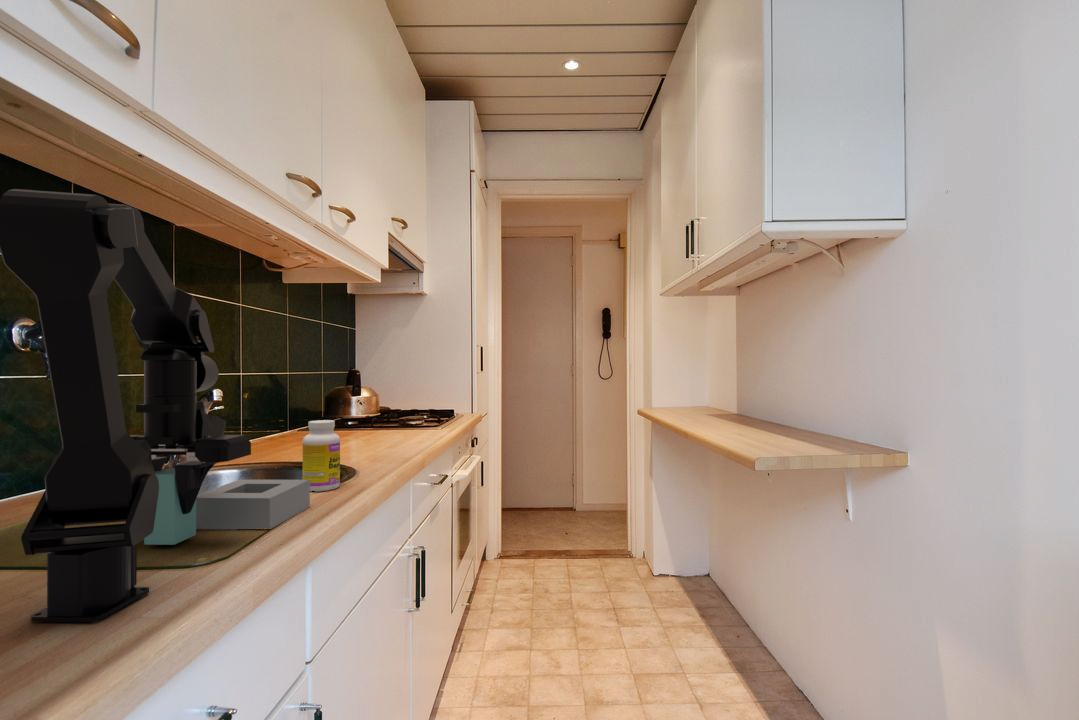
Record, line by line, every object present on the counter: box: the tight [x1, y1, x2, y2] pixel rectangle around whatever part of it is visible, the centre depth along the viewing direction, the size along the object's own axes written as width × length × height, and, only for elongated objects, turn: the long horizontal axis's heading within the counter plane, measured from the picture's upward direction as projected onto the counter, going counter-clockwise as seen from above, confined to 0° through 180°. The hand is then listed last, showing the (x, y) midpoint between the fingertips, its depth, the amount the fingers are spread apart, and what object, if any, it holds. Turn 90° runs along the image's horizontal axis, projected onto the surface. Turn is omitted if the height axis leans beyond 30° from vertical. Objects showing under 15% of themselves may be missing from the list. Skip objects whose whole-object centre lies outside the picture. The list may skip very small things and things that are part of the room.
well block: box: [196, 479, 311, 531], centre depth 81 cm, size 12×12×4 cm
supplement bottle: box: [301, 419, 341, 493], centre depth 100 cm, size 7×7×13 cm
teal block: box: [143, 467, 197, 546], centre depth 69 cm, size 4×4×9 cm
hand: (170, 513), depth 69 cm, fingers closed on teal block, 4 cm apart
